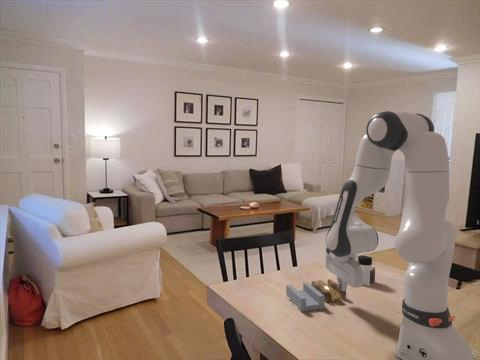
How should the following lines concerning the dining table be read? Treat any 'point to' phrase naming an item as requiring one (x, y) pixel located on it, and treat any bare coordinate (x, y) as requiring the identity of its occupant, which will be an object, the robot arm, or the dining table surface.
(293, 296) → the cradle
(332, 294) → the axle
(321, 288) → the pair of brown bars
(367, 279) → the medicine bottle
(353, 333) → the dining table surface
